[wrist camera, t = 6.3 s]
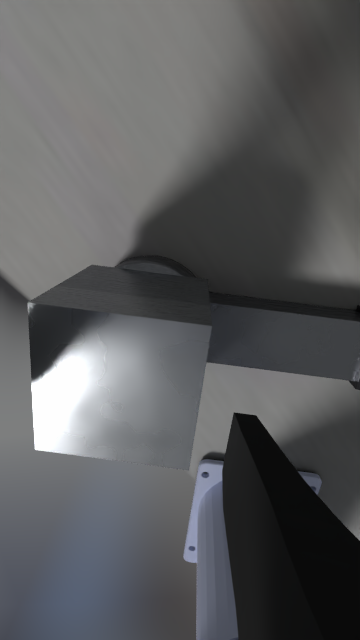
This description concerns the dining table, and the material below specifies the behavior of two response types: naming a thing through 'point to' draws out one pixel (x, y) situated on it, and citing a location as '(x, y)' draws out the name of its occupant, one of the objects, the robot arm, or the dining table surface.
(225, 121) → the dining table surface
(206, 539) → the robot arm
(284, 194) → the dining table surface
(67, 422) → the brushed metal cube
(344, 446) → the dining table surface
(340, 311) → the bar
